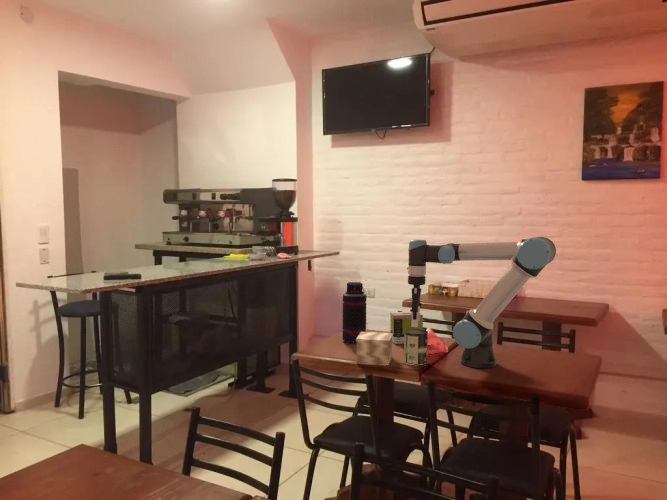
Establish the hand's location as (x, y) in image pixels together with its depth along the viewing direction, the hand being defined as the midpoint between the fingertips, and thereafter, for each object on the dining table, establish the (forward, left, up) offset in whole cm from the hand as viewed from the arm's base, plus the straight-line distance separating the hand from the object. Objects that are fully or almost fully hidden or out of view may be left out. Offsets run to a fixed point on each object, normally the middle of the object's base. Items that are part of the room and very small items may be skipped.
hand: (415, 323), depth 246 cm
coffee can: (0, 0, -18) cm, 18 cm away
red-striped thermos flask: (+33, -34, -18) cm, 50 cm away
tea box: (+7, -39, -18) cm, 43 cm away
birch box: (+18, 0, -17) cm, 25 cm away
